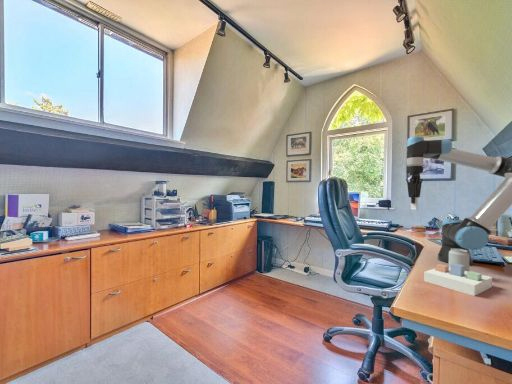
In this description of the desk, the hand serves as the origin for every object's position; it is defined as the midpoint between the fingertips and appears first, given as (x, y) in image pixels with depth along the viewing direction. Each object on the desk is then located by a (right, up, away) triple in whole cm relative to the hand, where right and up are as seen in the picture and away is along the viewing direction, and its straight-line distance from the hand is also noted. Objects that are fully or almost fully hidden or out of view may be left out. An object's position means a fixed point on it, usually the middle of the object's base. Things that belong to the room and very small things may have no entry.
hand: (414, 209), depth 130 cm
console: (-1, -29, -29) cm, 41 cm away
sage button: (+2, -28, -33) cm, 44 cm away
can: (+9, -30, -18) cm, 36 cm away
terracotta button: (-3, -28, -24) cm, 37 cm away
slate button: (0, -26, -29) cm, 39 cm away
